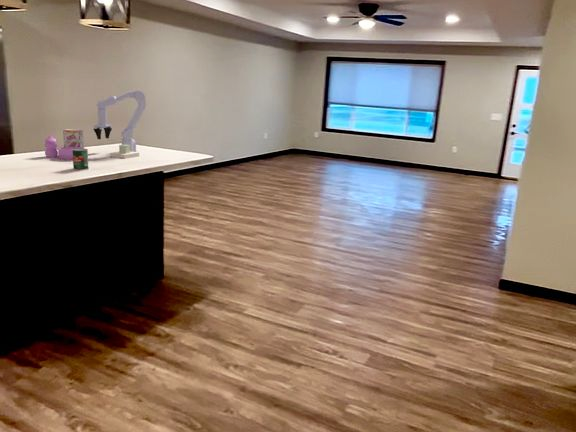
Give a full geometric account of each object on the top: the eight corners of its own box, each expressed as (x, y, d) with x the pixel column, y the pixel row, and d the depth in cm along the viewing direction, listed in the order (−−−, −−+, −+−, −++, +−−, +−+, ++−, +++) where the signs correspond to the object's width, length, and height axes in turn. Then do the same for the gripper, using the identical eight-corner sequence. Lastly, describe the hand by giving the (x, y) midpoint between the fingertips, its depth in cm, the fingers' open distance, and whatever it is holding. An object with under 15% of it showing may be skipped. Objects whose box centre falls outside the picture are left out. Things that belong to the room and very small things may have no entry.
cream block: (125, 155, 339) (125, 150, 339) (139, 157, 335) (139, 152, 334) (110, 157, 327) (110, 152, 326) (124, 159, 322) (124, 154, 322)
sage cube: (123, 151, 333) (123, 144, 332) (130, 152, 332) (130, 145, 331) (119, 152, 329) (119, 145, 327) (125, 153, 327) (125, 145, 326)
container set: (89, 157, 318) (88, 137, 315) (76, 161, 304) (75, 139, 300) (53, 155, 321) (51, 134, 318) (38, 158, 307) (37, 136, 303)
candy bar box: (64, 155, 322) (62, 129, 318) (68, 154, 327) (66, 128, 323) (80, 156, 321) (79, 130, 317) (84, 155, 326) (83, 130, 322)
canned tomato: (72, 169, 276) (71, 150, 273) (74, 167, 283) (73, 148, 280) (87, 170, 278) (86, 150, 275) (89, 167, 285) (88, 148, 282)
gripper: (105, 117, 343) (106, 137, 347) (89, 118, 330) (90, 139, 334) (113, 118, 341) (114, 138, 344) (97, 119, 328) (98, 140, 331)
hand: (103, 138), depth 339 cm, fingers open, 7 cm apart
